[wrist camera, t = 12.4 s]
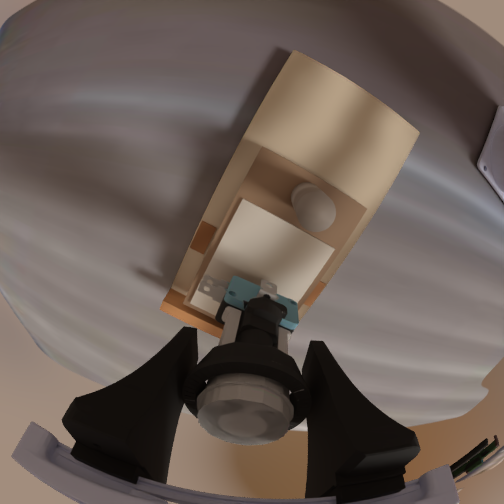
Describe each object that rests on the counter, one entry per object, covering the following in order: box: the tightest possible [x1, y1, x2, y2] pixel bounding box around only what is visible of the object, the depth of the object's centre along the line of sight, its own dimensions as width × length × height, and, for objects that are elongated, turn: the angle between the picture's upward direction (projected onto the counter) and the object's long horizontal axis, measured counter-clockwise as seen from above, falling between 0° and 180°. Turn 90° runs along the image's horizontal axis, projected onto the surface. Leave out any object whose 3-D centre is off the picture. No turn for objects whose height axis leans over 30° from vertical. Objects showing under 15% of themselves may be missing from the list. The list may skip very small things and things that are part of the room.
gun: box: [450, 435, 499, 479], centre depth 44 cm, size 6×35×8 cm, turn 161°
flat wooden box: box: [160, 50, 420, 338], centre depth 19 cm, size 11×22×3 cm, turn 152°
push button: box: [182, 274, 312, 445], centre depth 13 cm, size 7×5×10 cm
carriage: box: [183, 146, 367, 320], centre depth 18 cm, size 8×13×6 cm, turn 152°
